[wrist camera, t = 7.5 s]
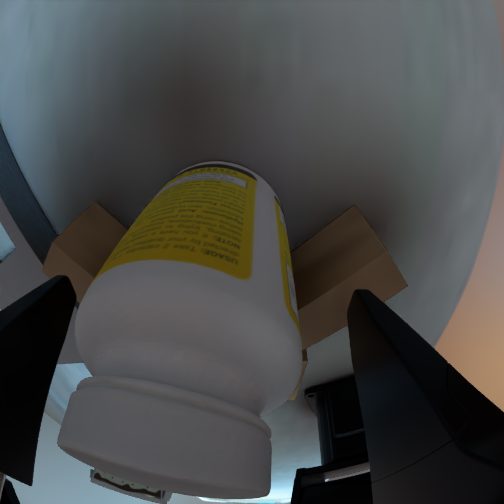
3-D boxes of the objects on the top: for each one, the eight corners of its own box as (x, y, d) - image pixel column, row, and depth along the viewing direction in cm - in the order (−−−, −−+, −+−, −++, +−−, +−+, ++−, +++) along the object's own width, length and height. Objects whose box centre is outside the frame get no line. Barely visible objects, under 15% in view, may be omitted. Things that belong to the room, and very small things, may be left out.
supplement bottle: (134, 218, 11) (11, 425, 3) (219, 129, 9) (34, 396, 1) (220, 291, 14) (190, 499, 5) (310, 227, 11) (368, 486, 3)
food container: (124, 439, 33) (113, 490, 24) (102, 424, 29) (87, 480, 21) (193, 449, 31) (186, 508, 23) (175, 436, 28) (165, 504, 19)
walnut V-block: (338, 349, 16) (348, 396, 13) (121, 338, 16) (104, 380, 13) (384, 207, 11) (421, 252, 8) (72, 202, 11) (29, 241, 8)
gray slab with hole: (134, 333, 16) (124, 358, 14) (62, 346, 18) (53, 364, 16) (-13, 87, 7) (-38, 94, 5) (-54, 168, 9) (-71, 179, 7)
